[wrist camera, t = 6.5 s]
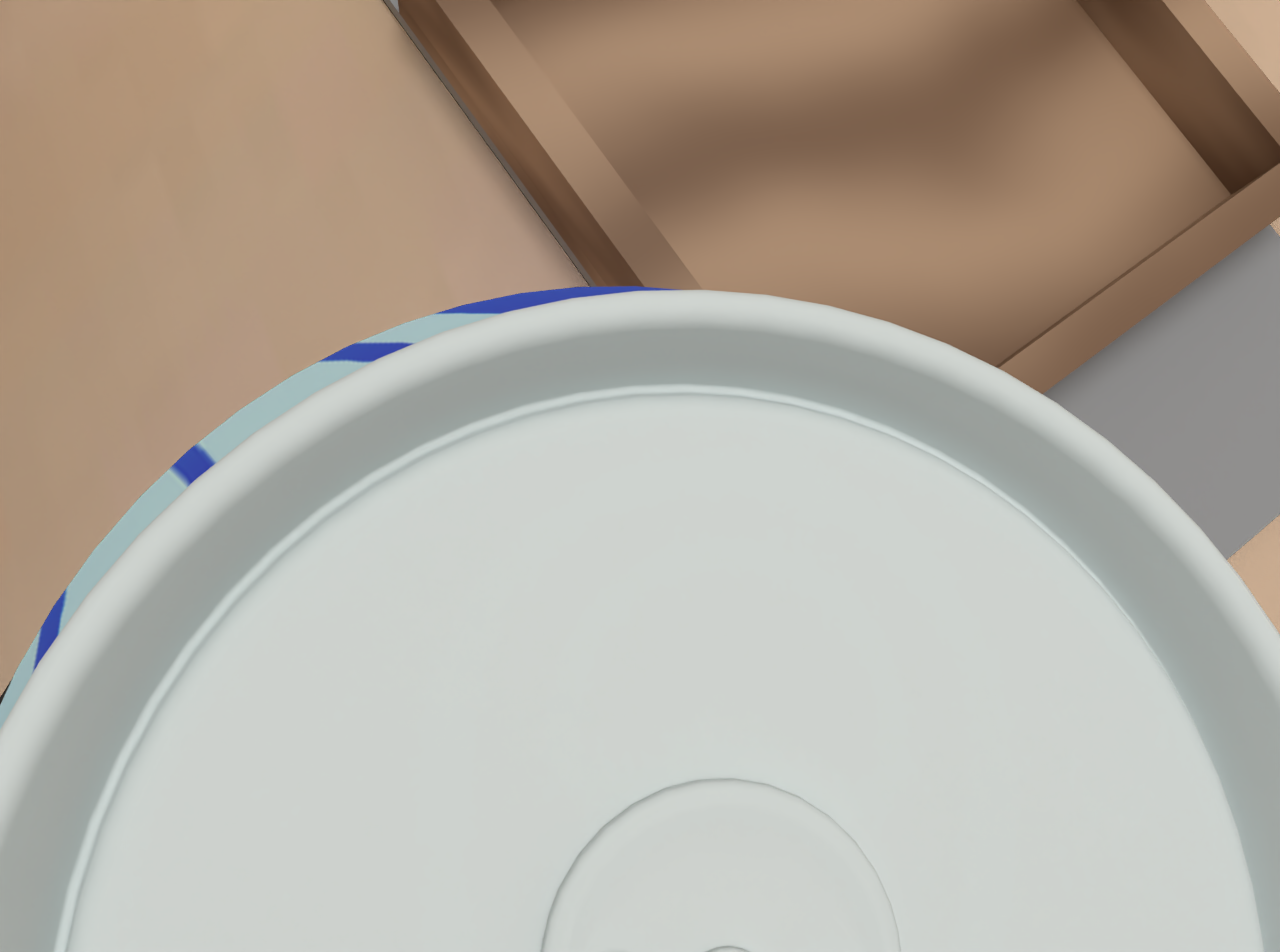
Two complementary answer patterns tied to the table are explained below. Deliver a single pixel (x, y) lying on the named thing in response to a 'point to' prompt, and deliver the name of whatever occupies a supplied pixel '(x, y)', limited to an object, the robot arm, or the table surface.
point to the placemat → (1168, 383)
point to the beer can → (647, 662)
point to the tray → (884, 152)
